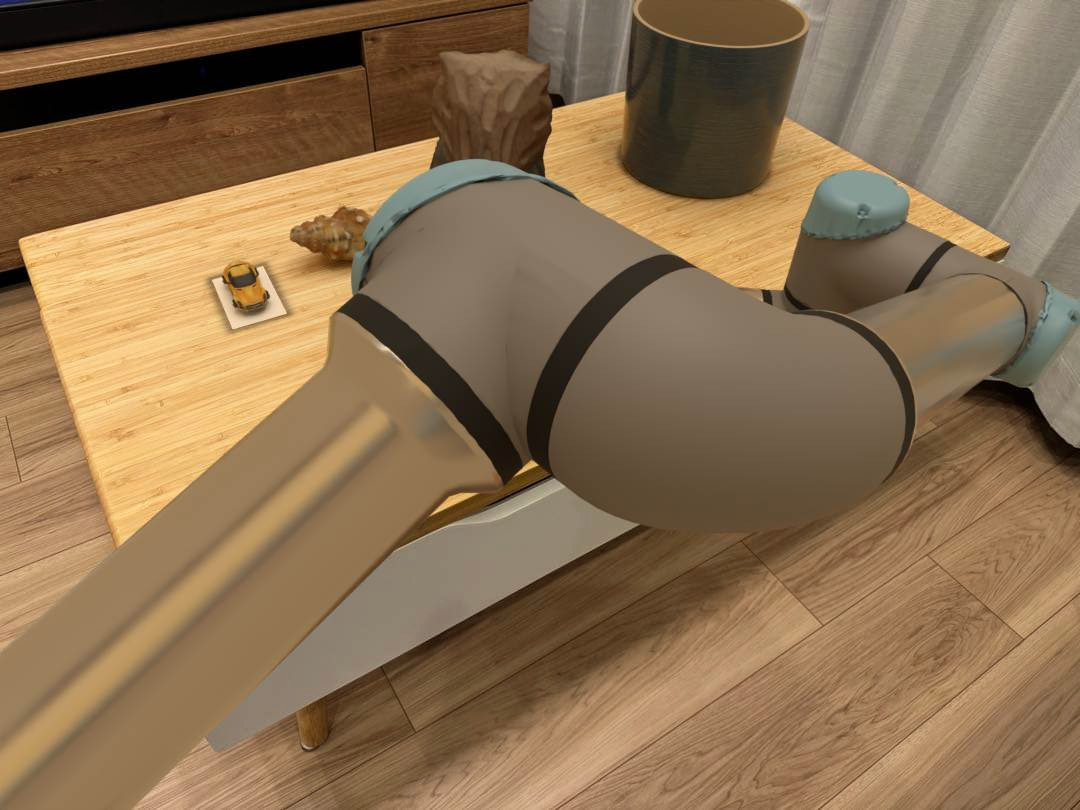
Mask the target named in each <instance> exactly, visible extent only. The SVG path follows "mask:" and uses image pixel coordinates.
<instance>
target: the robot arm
mask: <svg viewBox="0 0 1080 810" xmlns="http://www.w3.org/2000/svg"><path fill="white" fill-rule="evenodd" d="M429 169H430V168H429ZM429 169H428V170H426V171H425V172H423V173H420V174H418V175H417V176H415V177H413V178H412V179H410V180H409V181H407V182H406V183H405V184H403V185H402V186H401V187H399V188H397V190H396V191H395V192H394V193H392V194H391V195H390V196H389V197H388V198H387V199H386V200H385V201H384V202H383V203H382V204H381V206H380V207H379V208H378V209H377V210H376V212H375V213H374V214H373V216H372V219H371V220H370V222H369V223H368V225H367V227H366V228H365V230H364V232H363V234H362V237H363V239H364V241H365V247H364V250H362V251H359V252H356V253H355V255H354V260H352V265H351V270H350V271H351V272H350V286H351V294H352V296H351V298H349V299H348V300H347V301H346V302H345V303H343V304H342V305H341V306H340V307H339V308H338V309H336V311H334V312H333V313H332V314H331V315H330V316H329V317H328V326H327V328H328V329H327V346H326V357H325V360H324V362H323V366H322V367H321V368H320V369H319V370H318V371H317V372H316V373H314V374H313V375H312V376H311V377H310V378H309V379H307V380H306V381H305V382H304V383H303V384H302V385H301V386H299V387H298V389H296V390H295V391H294V392H293V393H291V395H290V396H288V397H287V398H286V399H285V400H284V401H283V402H281V403H280V404H279V405H278V406H276V408H274V410H272V411H271V412H270V413H269V414H268V415H267V416H266V417H264V418H263V419H262V420H261V421H260V422H259V423H258V424H257V425H255V426H254V427H253V428H252V429H251V430H250V431H249V432H247V433H246V434H245V435H244V436H243V437H242V438H241V439H240V440H239V441H237V442H236V443H235V444H234V445H233V446H232V447H231V448H229V449H228V450H227V451H225V453H224V454H223V455H221V456H220V457H219V458H218V459H216V461H214V462H213V464H211V465H210V466H209V467H208V468H207V469H206V470H204V471H203V472H202V473H201V474H200V475H199V476H198V477H197V478H196V479H194V480H193V481H192V482H191V483H190V484H188V485H187V486H186V487H185V488H184V489H183V490H182V491H180V493H178V495H176V496H175V497H174V498H172V499H171V500H170V501H169V502H168V503H167V504H165V506H164V507H163V508H161V509H160V510H159V511H158V512H157V513H156V514H155V515H153V516H152V517H151V518H150V519H149V520H148V521H147V522H145V523H143V525H142V526H141V527H140V528H138V529H137V530H136V531H135V532H134V533H133V534H132V535H131V536H130V537H128V538H127V539H126V540H125V541H124V542H123V543H122V544H120V545H119V546H118V547H117V548H116V549H115V550H113V552H111V554H109V555H108V556H107V557H106V558H104V560H103V561H101V562H100V563H99V564H98V565H97V566H96V567H94V568H93V569H92V570H91V571H90V572H89V573H88V574H86V575H85V576H84V577H83V578H82V579H81V580H79V581H78V582H77V583H76V584H75V585H74V586H73V587H72V588H70V590H68V591H67V592H66V593H65V594H64V595H63V596H62V597H60V598H59V599H58V600H57V601H56V602H55V603H54V604H52V606H50V607H49V608H48V609H47V610H46V611H45V612H44V613H43V614H41V615H40V616H39V617H38V618H36V619H35V620H34V621H33V622H32V623H31V624H30V625H29V626H27V628H25V629H24V630H23V631H21V633H20V634H18V635H17V636H16V637H15V638H14V639H13V640H12V641H10V642H9V643H8V644H7V645H6V646H5V647H4V648H3V649H2V650H0V810H133V809H134V808H136V807H137V805H138V804H139V803H140V802H141V801H142V800H143V799H144V798H145V797H146V796H147V795H148V794H149V793H151V791H152V790H153V789H154V788H155V787H156V786H157V785H159V783H160V782H161V781H163V779H164V778H165V777H166V776H167V775H168V774H170V773H171V772H172V771H173V770H174V769H175V768H176V767H177V766H178V765H179V764H180V763H181V762H182V761H183V760H184V759H185V758H186V757H187V756H188V755H189V754H190V753H191V752H192V751H193V750H194V749H195V748H196V747H197V746H198V745H199V744H200V743H201V742H202V741H203V740H204V739H205V738H206V737H207V736H208V735H209V734H210V733H211V732H212V731H213V730H214V729H216V727H218V725H219V724H220V723H221V722H223V720H224V719H226V717H228V716H229V714H230V713H231V712H233V711H234V710H235V708H237V707H238V705H240V704H241V703H242V702H243V701H244V700H245V699H246V698H247V697H248V696H249V695H250V694H251V693H252V692H253V691H254V690H255V689H256V688H257V687H258V686H259V685H260V684H261V683H262V682H263V681H264V680H265V679H266V678H267V677H268V676H269V675H270V674H271V673H272V672H273V671H274V670H276V668H277V667H279V665H281V663H282V662H283V661H284V660H285V659H286V658H287V657H288V656H289V655H290V654H291V653H293V651H294V650H296V648H297V647H298V646H299V645H300V644H301V643H302V642H304V641H305V640H306V639H307V638H308V637H309V636H310V635H311V634H312V633H313V632H314V631H315V630H316V629H317V628H318V627H319V626H320V625H321V624H322V623H323V622H324V621H325V620H326V619H327V618H328V617H329V616H330V615H331V614H332V613H333V612H334V611H335V610H336V609H337V608H338V607H339V606H340V605H341V604H342V603H344V601H345V600H347V598H349V596H350V595H351V594H353V592H354V591H356V590H357V588H358V587H360V585H361V584H363V582H365V581H366V580H367V578H369V577H370V576H371V575H372V574H373V572H374V571H376V570H377V569H378V568H379V567H380V566H381V565H382V564H383V563H384V562H385V561H386V560H387V559H388V558H390V556H391V555H392V554H393V553H394V552H395V551H396V550H397V549H398V548H399V547H400V546H401V545H402V544H403V543H404V542H405V541H406V540H407V539H409V537H410V536H411V535H412V534H413V533H414V532H416V530H417V529H419V528H420V526H421V525H422V524H424V522H426V521H427V520H428V519H429V517H430V516H432V514H434V513H435V511H437V509H438V508H440V507H441V506H442V505H443V504H444V503H445V502H446V501H447V500H448V499H449V498H450V497H453V496H456V495H459V494H498V493H499V492H501V490H502V489H504V487H505V486H506V485H507V484H509V482H510V481H512V479H513V478H514V477H515V476H516V475H517V474H519V472H520V471H521V470H523V469H524V467H526V465H528V463H530V462H531V461H533V462H534V463H535V464H537V465H538V466H539V467H540V468H541V469H542V470H544V471H545V472H546V473H547V474H549V475H550V476H551V477H553V478H554V479H555V480H556V481H557V482H559V483H560V484H562V486H564V487H565V488H567V489H568V490H569V491H570V492H572V493H573V494H574V495H576V496H577V497H579V498H580V499H581V500H583V501H584V502H585V503H588V504H589V505H592V506H593V507H594V508H596V509H598V510H600V511H602V512H604V513H606V514H608V515H611V516H613V517H615V518H619V519H621V520H624V521H627V522H630V523H633V524H638V525H641V526H645V527H648V528H649V527H650V528H653V529H657V530H663V531H664V530H665V531H671V532H680V533H689V534H697V535H699V534H705V535H707V534H753V533H761V532H768V531H769V532H770V531H777V530H778V531H779V530H783V529H788V528H791V527H795V526H799V525H803V524H807V523H810V522H816V521H818V520H821V519H826V518H829V517H831V516H833V515H835V514H837V513H840V512H842V511H844V510H846V509H847V508H849V507H851V506H854V505H855V504H857V503H859V502H861V501H862V500H864V499H865V498H866V497H867V496H868V495H870V494H871V493H872V492H874V491H875V490H876V489H877V488H878V487H880V486H881V485H882V484H884V483H885V482H886V481H887V480H888V479H889V478H891V477H892V476H893V475H894V474H895V472H896V471H897V470H898V469H899V468H900V467H901V466H902V464H903V463H904V461H905V460H906V458H907V456H908V454H909V452H910V450H911V448H912V446H913V443H914V439H915V436H916V433H917V431H918V430H919V429H920V428H922V426H924V425H926V424H927V423H928V422H929V421H931V420H932V419H933V418H934V417H936V416H938V414H940V413H942V412H943V411H944V410H945V409H946V408H948V407H949V406H951V405H952V404H953V403H954V402H956V401H957V400H958V399H959V398H961V397H962V396H964V395H965V394H966V393H968V392H969V391H970V390H972V389H973V388H974V387H976V386H977V385H978V384H980V383H981V382H982V381H984V380H985V379H986V378H988V377H989V376H990V377H991V378H993V379H997V380H1001V381H1003V382H1006V383H1008V384H1011V385H1012V386H1015V387H1017V388H1022V389H1023V388H1030V387H1033V386H1035V385H1036V384H1037V383H1038V382H1039V381H1040V380H1041V379H1042V378H1043V377H1044V375H1045V374H1046V373H1047V372H1048V370H1049V369H1050V368H1051V366H1052V365H1053V364H1054V363H1055V361H1056V360H1057V359H1058V358H1059V356H1060V355H1061V354H1062V352H1063V351H1064V350H1065V348H1066V346H1067V345H1068V343H1070V341H1071V339H1072V338H1073V336H1074V335H1075V334H1076V332H1077V330H1078V328H1079V327H1080V301H1079V300H1078V299H1077V298H1075V297H1073V296H1070V295H1068V294H1067V293H1065V292H1063V291H1061V290H1059V289H1058V288H1055V287H1053V285H1051V284H1050V283H1049V282H1047V281H1045V280H1042V279H1041V280H1037V279H1035V278H1033V277H1030V276H1028V275H1026V274H1024V273H1021V272H1019V271H1016V270H1015V269H1013V268H1010V267H1007V266H1005V265H1003V264H1001V263H998V262H996V261H994V260H992V259H989V258H987V257H985V256H982V255H980V254H977V253H975V252H973V251H971V250H969V249H966V248H964V247H962V246H959V245H958V244H956V243H954V242H951V240H949V239H948V238H945V237H942V236H940V235H938V234H935V233H933V232H932V231H929V230H927V229H924V228H923V227H920V226H918V225H916V224H913V223H911V222H908V221H907V220H908V216H909V214H910V213H909V209H910V205H911V199H910V195H909V192H908V191H907V190H906V189H905V187H903V186H902V185H898V182H897V181H896V180H895V179H893V178H892V177H889V176H887V175H885V174H882V173H879V172H874V171H870V170H864V169H847V170H841V171H837V172H834V173H832V174H830V175H829V176H826V177H825V178H823V179H822V180H821V181H820V182H819V184H817V186H816V188H815V191H814V193H813V196H812V199H811V201H810V203H809V206H808V208H807V211H806V213H805V216H804V218H803V219H802V220H801V222H800V231H799V235H798V238H797V241H796V245H795V247H794V251H793V255H792V258H791V262H790V265H789V268H788V272H787V275H786V278H785V283H784V284H783V288H782V289H766V288H765V289H764V288H756V287H746V286H736V285H735V286H734V285H733V284H731V283H730V282H727V281H726V280H724V279H722V278H720V277H718V276H716V275H715V274H714V273H713V274H712V273H711V272H709V271H707V270H706V269H702V268H700V267H698V266H696V265H695V264H693V263H691V262H689V261H688V260H686V259H685V258H683V257H681V256H679V255H678V254H676V253H674V252H672V251H671V250H669V249H666V248H664V247H663V246H661V245H660V244H658V243H656V242H654V241H652V240H651V239H648V238H646V237H645V236H643V235H641V234H639V233H638V232H636V231H633V229H630V228H628V227H626V226H625V225H623V224H621V223H619V222H618V221H616V220H613V219H612V218H610V217H608V216H607V215H604V214H603V213H601V212H599V211H597V210H596V209H594V208H592V207H590V206H588V205H586V204H585V203H583V202H581V200H580V199H579V198H578V197H577V196H576V195H575V194H574V193H573V192H572V191H570V190H568V189H567V188H565V187H564V186H563V185H561V184H559V183H557V182H555V181H554V180H552V179H550V178H547V177H546V176H545V177H546V178H545V177H542V176H538V175H534V174H528V173H526V172H524V171H522V170H520V169H518V168H516V167H513V166H511V165H508V164H505V163H502V162H497V161H489V160H485V159H468V160H460V161H455V162H451V163H447V164H443V165H440V166H438V167H435V168H433V169H430V170H429Z"/></svg>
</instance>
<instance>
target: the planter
mask: <svg viewBox="0 0 1080 810" xmlns="http://www.w3.org/2000/svg"><path fill="white" fill-rule="evenodd" d="M810 21H811V20H810V18H809V16H808V15H807V13H806V12H805V11H804V10H802V9H801V8H800V7H798V6H797V5H796V4H794V3H792V2H791V1H788V0H635V2H634V4H633V6H632V13H631V23H630V35H629V43H628V44H629V45H628V56H627V67H626V80H625V91H624V93H625V95H624V107H623V122H622V134H621V146H620V157H621V160H622V164H623V165H624V167H625V168H626V169H627V171H628V172H629V173H630V174H631V175H632V176H633V177H635V178H636V179H638V181H641V183H643V184H646V185H648V186H650V187H651V188H654V189H657V190H659V191H663V192H665V193H669V194H673V195H678V196H681V197H682V196H683V197H689V198H698V199H699V198H701V199H709V198H710V199H715V198H716V199H717V198H727V197H733V196H736V195H740V194H743V193H747V192H749V191H750V190H751V191H752V190H753V189H755V188H757V187H758V186H759V185H760V184H761V183H762V182H764V181H765V179H766V178H767V176H768V173H769V171H770V168H771V164H772V160H773V158H774V154H775V150H776V147H777V143H778V141H779V137H780V133H781V130H782V127H783V124H784V121H785V117H786V113H787V110H788V106H789V103H790V100H791V97H792V93H793V89H794V86H795V82H796V78H797V74H798V71H799V68H800V65H801V61H802V57H803V53H804V50H805V46H806V42H807V39H808V34H809V31H810V27H811V22H810Z"/></svg>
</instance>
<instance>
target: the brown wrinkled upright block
mask: <svg viewBox="0 0 1080 810" xmlns="http://www.w3.org/2000/svg"><path fill="white" fill-rule="evenodd" d="M437 59H438V63H439V66H440V67H441V68H440V69H441V71H440V75H439V78H438V80H437V83H436V84H435V86H434V88H433V90H432V97H431V104H430V107H431V108H430V109H431V112H432V113H431V114H432V115H431V120H432V123H433V126H434V128H435V131H436V134H437V136H438V140H437V141H436V144H435V145H436V146H435V147H434V152H433V154H432V158H431V162H430V166H429V169H428V170H430V169H433V168H435V167H438V166H440V165H443V164H447V163H451V162H455V161H460V160H468V159H485V160H489V161H497V162H502V163H505V164H508V165H511V166H513V167H516V168H518V169H520V170H522V171H524V172H526V173H528V174H534V175H538V176H542V177H545V178H547V177H546V167H545V163H544V162H545V161H544V156H545V149H546V146H547V143H548V140H549V138H550V136H551V134H552V132H553V127H552V125H551V124H552V122H553V110H554V109H553V102H552V99H551V96H550V94H549V93H550V92H549V84H550V79H551V62H548V61H546V62H539V61H535V60H533V59H531V58H528V57H526V56H525V55H522V54H521V53H518V52H517V51H515V50H510V49H501V50H500V51H498V52H495V53H494V52H493V53H491V52H480V53H464V52H463V51H457V50H453V51H451V50H449V51H441V52H440V53H439V54H438V56H437Z"/></svg>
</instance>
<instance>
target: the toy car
mask: <svg viewBox="0 0 1080 810" xmlns="http://www.w3.org/2000/svg"><path fill="white" fill-rule="evenodd" d="M211 282H212V284H213V286H214V289H215V291H216V294H217V296H218V299H219V300H220V303H221V305H222V309H223V310H224V313H225V314H226V317H227V319H228V322H229V324H230V326H231V329H232V330H236V329H239V328H243V327H246V326H249V325H250V326H251V325H253V324H257V323H261V322H263V321H267V320H271V319H274V318H278V317H280V316H283V315H287V314H288V313H287V310H286V309H285V306H284V304H283V303H282V301H281V299H280V297H279V295H278V292H277V291H276V289H275V287H274V285H273V283H272V281H271V279H270V276H269V274H268V273H267V271H266V269H265V267H264V266H263V265H262V266H258V267H257V266H256V267H255V266H254V265H253V264H252V263H251V262H249V261H244V260H235V261H232V262H229V263H228V264H227V265H226V266H225V267H224V269H223V272H222V276H221V277H218V278H217V277H216V278H213V279H211Z"/></svg>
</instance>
